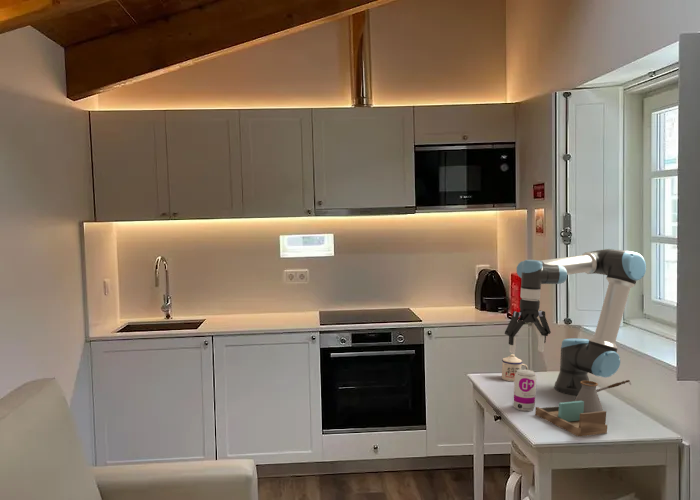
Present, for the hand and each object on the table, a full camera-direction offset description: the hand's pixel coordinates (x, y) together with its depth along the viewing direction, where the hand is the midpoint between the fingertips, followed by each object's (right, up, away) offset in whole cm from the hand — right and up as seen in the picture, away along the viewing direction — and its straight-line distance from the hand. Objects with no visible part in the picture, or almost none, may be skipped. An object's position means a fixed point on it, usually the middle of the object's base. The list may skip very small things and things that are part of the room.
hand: (526, 352), depth 257 cm
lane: (+12, -24, -14) cm, 31 cm away
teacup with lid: (+6, -20, +44) cm, 49 cm away
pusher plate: (+12, -23, -15) cm, 30 cm away
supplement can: (-1, -23, +2) cm, 23 cm away
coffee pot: (+28, -24, -4) cm, 37 cm away
